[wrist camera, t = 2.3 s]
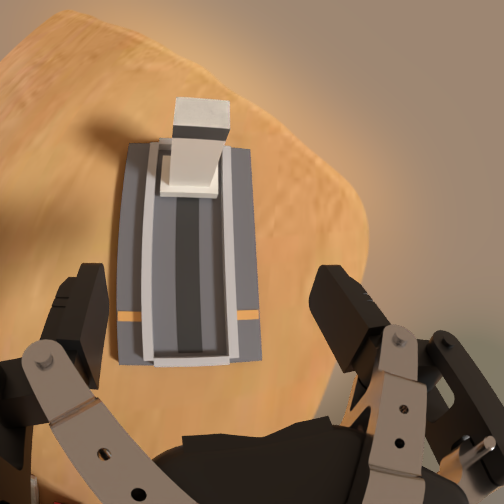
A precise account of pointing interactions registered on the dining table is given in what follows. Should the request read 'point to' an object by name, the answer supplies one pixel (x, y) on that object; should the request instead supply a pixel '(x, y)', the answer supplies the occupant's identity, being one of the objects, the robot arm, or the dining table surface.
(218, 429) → the dining table surface
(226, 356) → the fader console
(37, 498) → the packaged product
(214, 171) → the fader tab
